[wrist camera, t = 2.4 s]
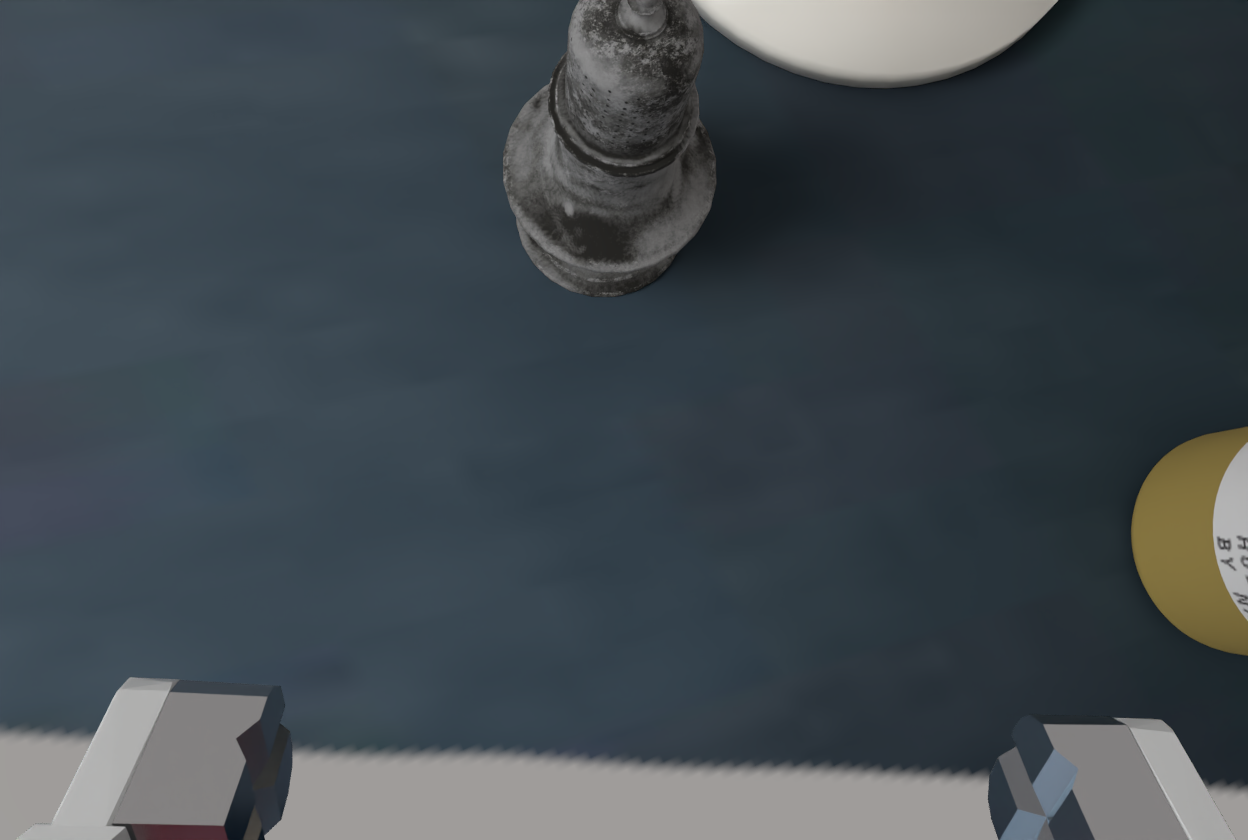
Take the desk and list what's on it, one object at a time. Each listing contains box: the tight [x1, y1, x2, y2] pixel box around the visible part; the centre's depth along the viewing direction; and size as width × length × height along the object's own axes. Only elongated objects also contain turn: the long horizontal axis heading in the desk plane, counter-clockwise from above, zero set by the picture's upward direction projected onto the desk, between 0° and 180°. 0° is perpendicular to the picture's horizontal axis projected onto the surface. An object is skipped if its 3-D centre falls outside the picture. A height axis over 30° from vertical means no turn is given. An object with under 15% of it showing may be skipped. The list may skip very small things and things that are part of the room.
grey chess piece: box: [503, 0, 717, 297], centre depth 24 cm, size 6×6×12 cm
